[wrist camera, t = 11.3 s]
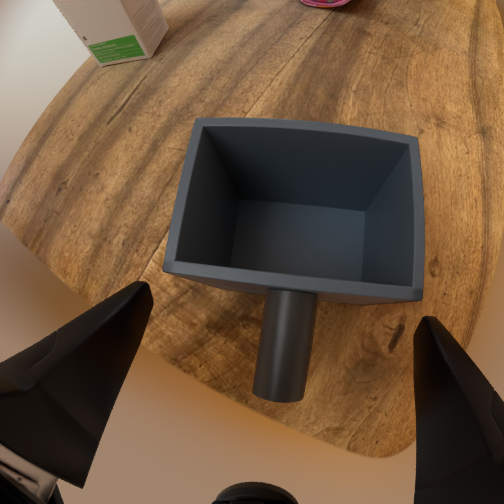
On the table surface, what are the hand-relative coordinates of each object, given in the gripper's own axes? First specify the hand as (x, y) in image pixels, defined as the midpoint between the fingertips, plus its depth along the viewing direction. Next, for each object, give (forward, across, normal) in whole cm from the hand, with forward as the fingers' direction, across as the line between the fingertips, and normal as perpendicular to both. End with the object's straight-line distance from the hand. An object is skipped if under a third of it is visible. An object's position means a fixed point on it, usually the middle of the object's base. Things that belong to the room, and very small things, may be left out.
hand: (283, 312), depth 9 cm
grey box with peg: (+10, 0, +7) cm, 12 cm away
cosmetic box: (+28, +21, -11) cm, 37 cm away
